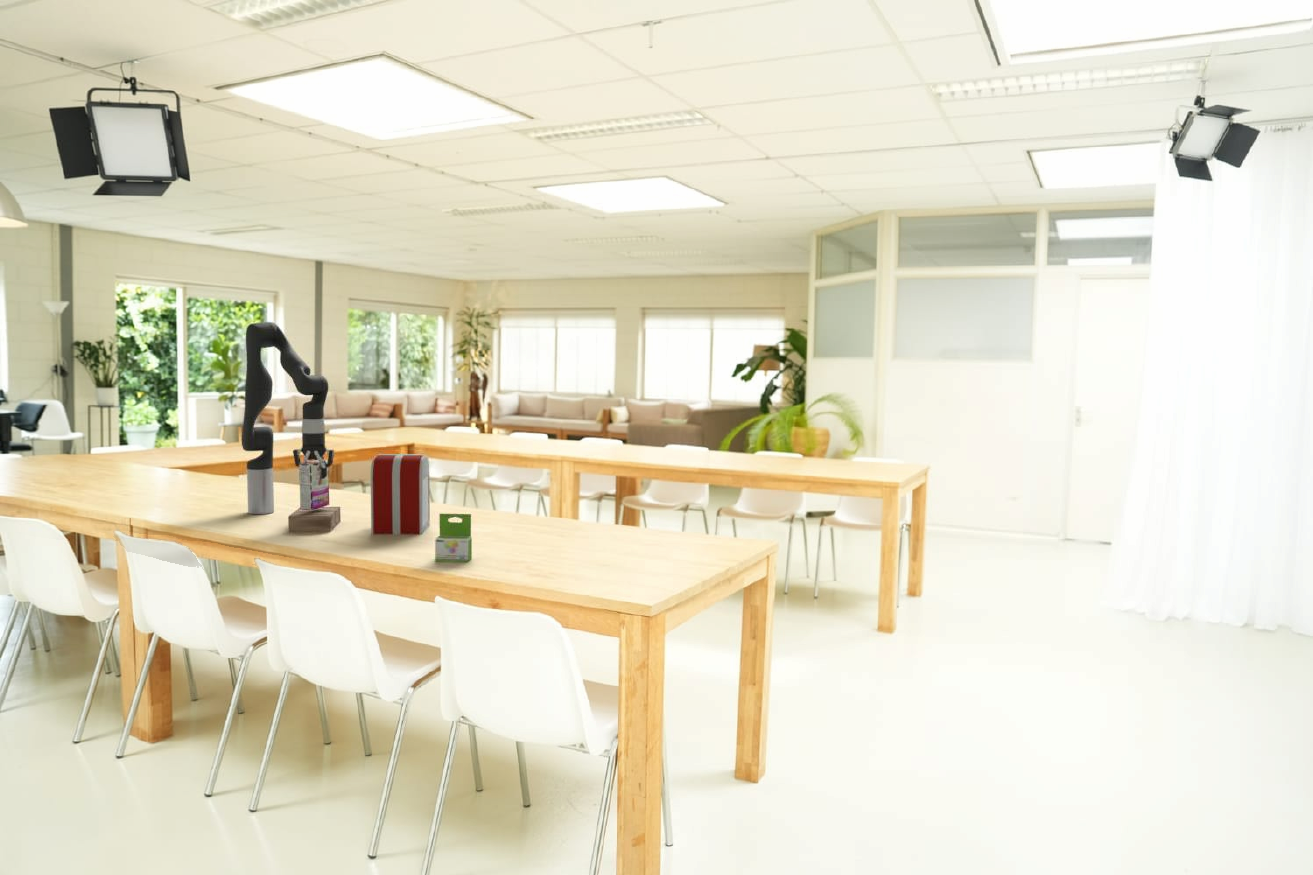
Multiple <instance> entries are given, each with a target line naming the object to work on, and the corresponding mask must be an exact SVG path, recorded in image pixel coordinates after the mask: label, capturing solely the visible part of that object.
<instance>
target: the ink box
mask: <svg viewBox="0 0 1313 875" xmlns="http://www.w3.org/2000/svg"><path fill="white" fill-rule="evenodd" d="M452 518H458V519H460V520H462V521H461V522H456V521H452V522H451V521H449V519H452ZM438 525H439V535H438V536H437V537H436V538H435V539H434V542H435V543H434V553H435V554H434V560H435V562H439V563H440V562H441V563H442V562H445V563H447V562H448V563H449V562H451V563H453V562H454V563H468V562H469V561H470V560H471V559H472V557H473V556H472V554H473V552H472V547H473V546H472V540H473V539H472V513H439V524H438Z"/></svg>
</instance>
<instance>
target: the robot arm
mask: <svg viewBox="0 0 1313 875" xmlns="http://www.w3.org/2000/svg"><path fill="white" fill-rule="evenodd" d="M273 347H274V348H276V349H277V350H278V351H279V354H280V356H279V362H280V363H279V364H280V365H281V368H282V369H283V370H284V371H285V373H286V374H288V376H289V377H291V380H292V382H293V384H294V386H295V388H296V390H297V392H298V393H300V394H301V395H303V396H312V398H311V399H310V400H309V401H307V402H304V403H303V404H302V410H301V411H302V424H301V439H302V440H301V442H302V444H301V445H302V446H301V448H298V449H297V448H295V449H293V450H292V454H293V459H294V465H295V467H298V468H299V464H303V463H307V462H310V461H316V460H318V461H319V463H320V464H321V466H322V479H325V477H327V467H328V468H329V467H332V466H333V464H334V458H335V457H334V455H335V450H334V449H329V448H328V449H327V448H326V427H325V426H326V425H325V418H324V416H325V414H324V413H325V412H324V410H325V409H324V407H325V404H326V401H327V396H328V392H329V382H328V378H326V377H325V376H323V375H320V374H316V375H312V374H311V368H310V367H309V365H308V364H307V363H306V362H305V361H304V360H303V358H301V357H300V356H299V355H298V353H297V352H296V350H295V349H294V348H293V347H292V344H291V343H290V341H289V340H288V338H287V336H286V335H285V334H284V332H283V330H282V329H281V328H280V326H279V325H278V324H276V323H275V322H273V321H266V322H256V323H255V322H254V323H250V324H248V326H247V328H246V331H245V351H246V375H245V383H244V385H245V387H244V398H245V399H244V412H243V413H244V416H243V423H242V430H241V447H242V449H243V450H244V451H245V452H261V451H262V453H261V454H260V455H259V456H257V457H255V458H252V459H250V460H248V461H247V462H246V478H247V479H246V480H247V481H246V483H247V484H246V485H247V486H246V487H247V514H250V515H264V514H265V515H266V514H271V513H274V512H275V497H274V496H275V495H274V494H275V490H274V488H275V487H274V432H273V429H272V427H269V426H254V425H255V423H256V421H257V419H258V417H259V416H260V414H261V413H262V411H263V410H264V409H266V407H267V405H269V403H270V402H271V399H272V398H273V385H274V384H273V379H272V376H271V374H270V373H269V371H268V370H267V368H266V367H265V366H264V364H263V361H262V354H261V353H262V349H266V348H273ZM301 454H303V456H304V458H303V460H302V462H301ZM325 454H326V455H327V461H328V463H327V464H326V462H325V461H326V458H325V457H324V455H325Z"/></svg>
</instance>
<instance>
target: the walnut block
mask: <svg viewBox="0 0 1313 875" xmlns="http://www.w3.org/2000/svg"><path fill="white" fill-rule="evenodd" d="M287 517H288V518H287V519H288V522H287V524H288V533H327V532H328V533H329V532H330V533H331V532H333V530H334V529H336V528H337V526H338V525H339V524H341V519H342V517H341V506H324V507H321V508H318V509H314V510H301V509H300V507H299V508H297V509H296V510H295V511H294V512H292V513H291V514H289V515H288V516H287Z"/></svg>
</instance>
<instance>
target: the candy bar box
mask: <svg viewBox="0 0 1313 875" xmlns="http://www.w3.org/2000/svg"><path fill="white" fill-rule="evenodd" d="M325 462H326V464H327V463H328V460H325ZM298 470H299V472H298V473H299V475H298V476H299V500H300V501H299V503H300V507H299V508H300V509H301V510H314V509H318V508H321V507H328V506H329V505H330V484H329V481H330V480H329V478H330V477H329V467H327V477H325V479H322V466H321V464H320V463H319V461H318V460H310V461H309V462H307V463H303V464H299V467H298Z"/></svg>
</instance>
